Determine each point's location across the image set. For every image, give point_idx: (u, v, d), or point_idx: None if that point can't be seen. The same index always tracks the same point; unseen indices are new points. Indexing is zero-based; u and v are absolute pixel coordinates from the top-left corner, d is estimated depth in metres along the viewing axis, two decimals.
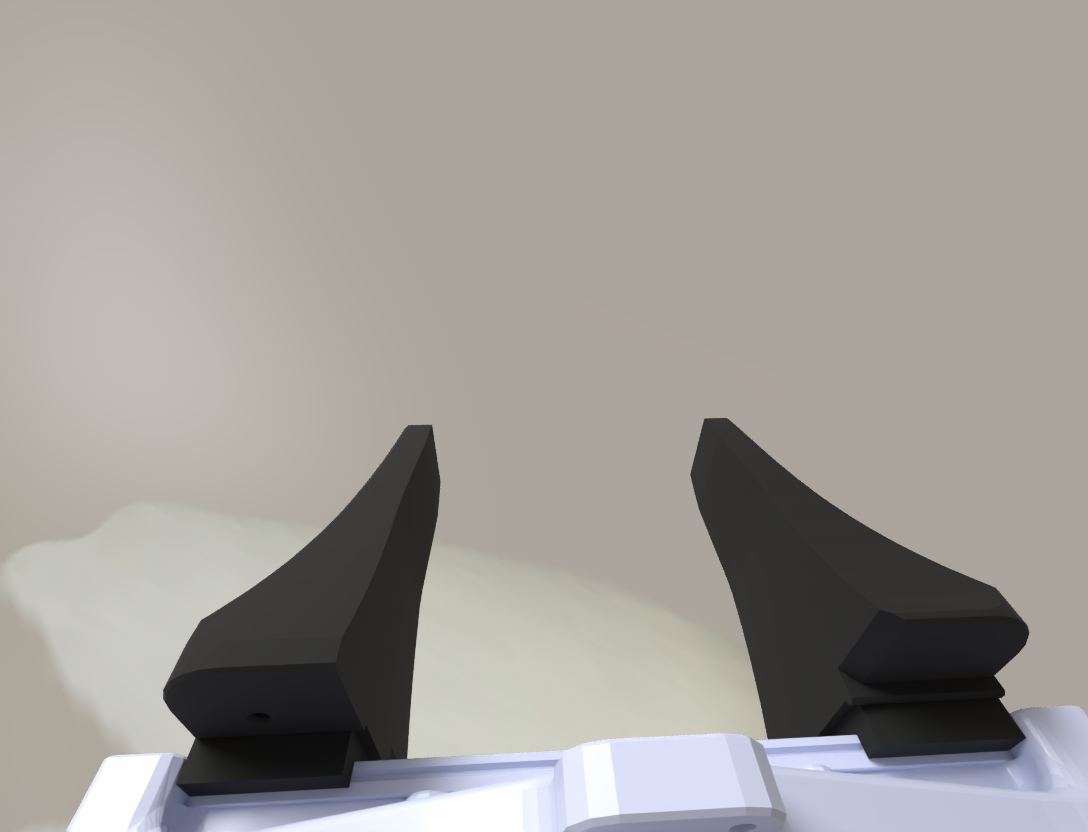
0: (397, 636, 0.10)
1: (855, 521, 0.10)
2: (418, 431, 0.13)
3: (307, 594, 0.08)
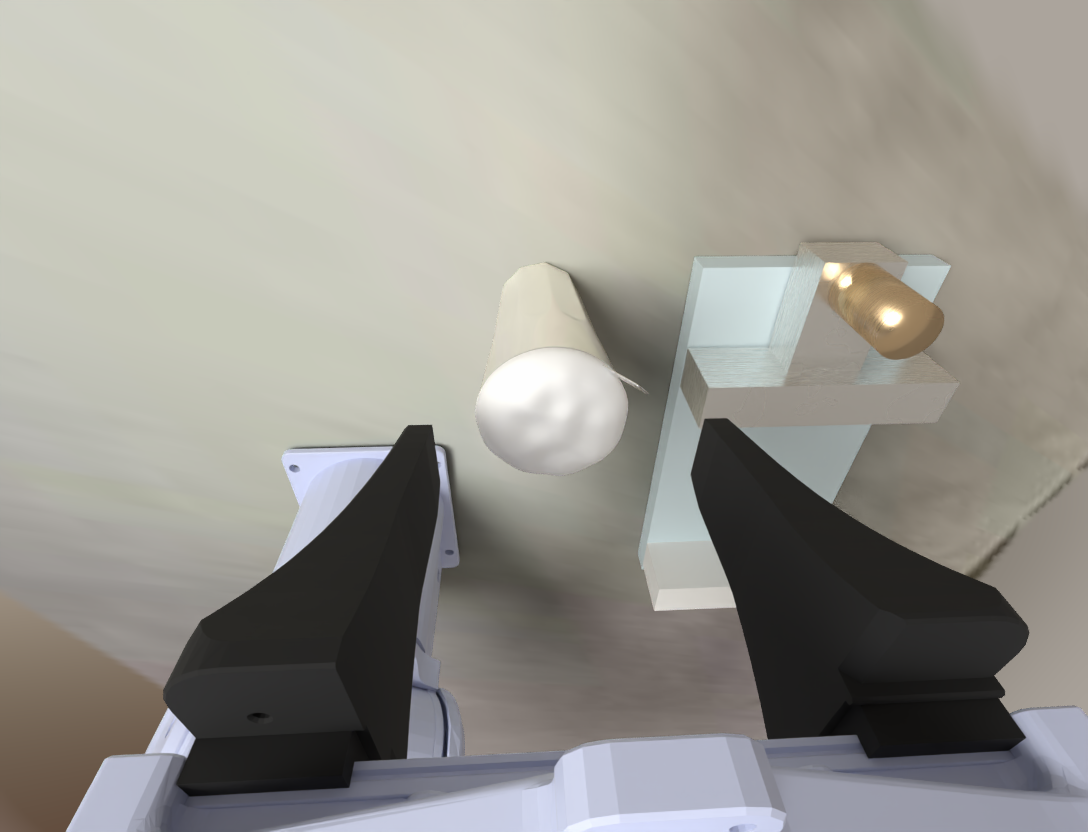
0: (397, 636, 0.10)
1: (855, 521, 0.10)
2: (418, 431, 0.13)
3: (307, 593, 0.08)
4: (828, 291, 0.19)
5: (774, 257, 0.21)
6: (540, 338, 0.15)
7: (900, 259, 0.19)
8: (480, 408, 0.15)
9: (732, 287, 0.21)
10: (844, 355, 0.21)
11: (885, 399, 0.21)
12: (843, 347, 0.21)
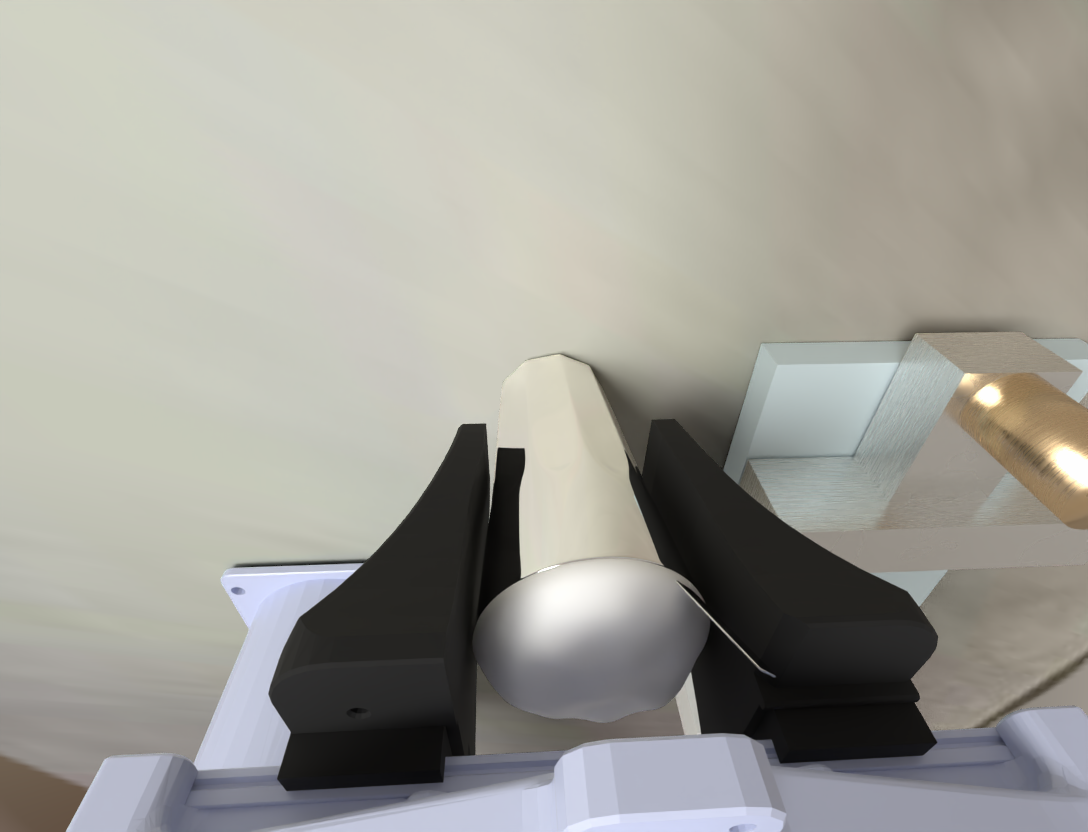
0: (469, 633, 0.10)
1: (783, 523, 0.10)
2: (473, 429, 0.13)
3: (398, 590, 0.08)
4: (963, 408, 0.13)
5: (869, 344, 0.16)
6: (574, 533, 0.10)
7: (1069, 366, 0.13)
8: (481, 649, 0.09)
9: (814, 387, 0.15)
10: (969, 482, 0.15)
11: (1024, 540, 0.15)
12: (969, 473, 0.15)
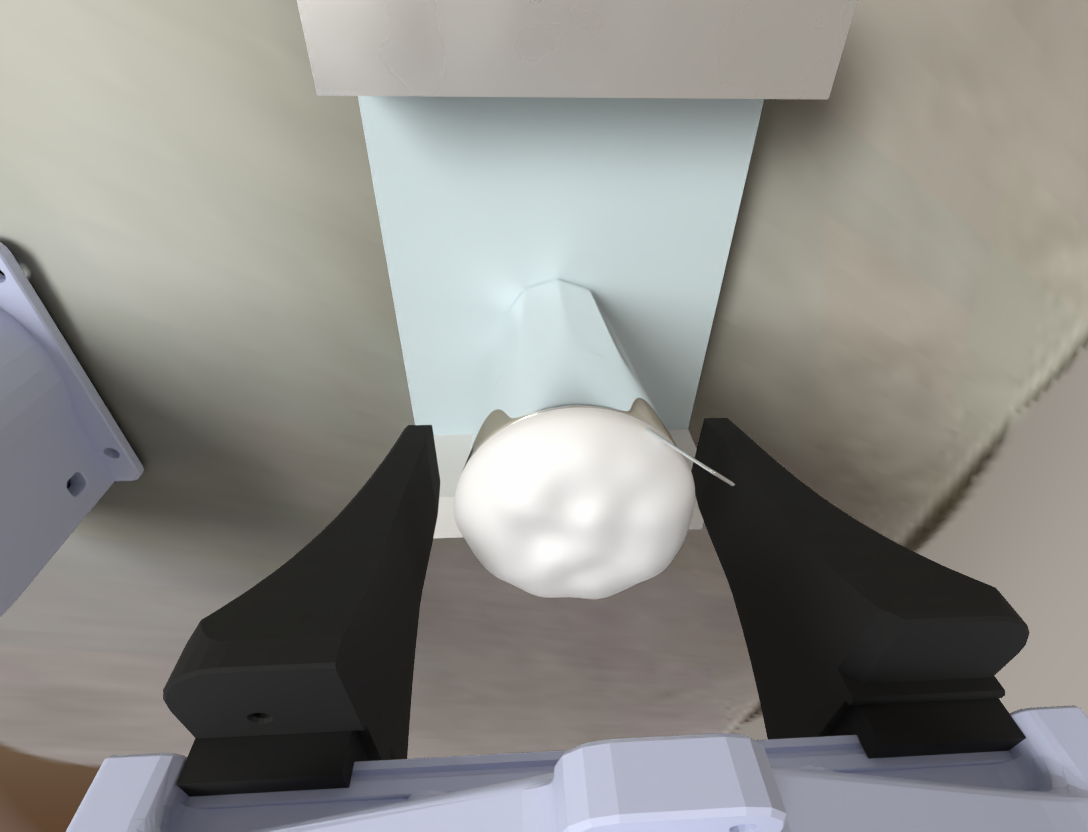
0: (397, 636, 0.10)
1: (855, 521, 0.10)
2: (417, 431, 0.13)
3: (307, 594, 0.08)
4: None
5: None
6: (543, 394, 0.10)
7: None
8: (459, 512, 0.10)
9: None
10: None
11: (707, 16, 0.10)
12: None
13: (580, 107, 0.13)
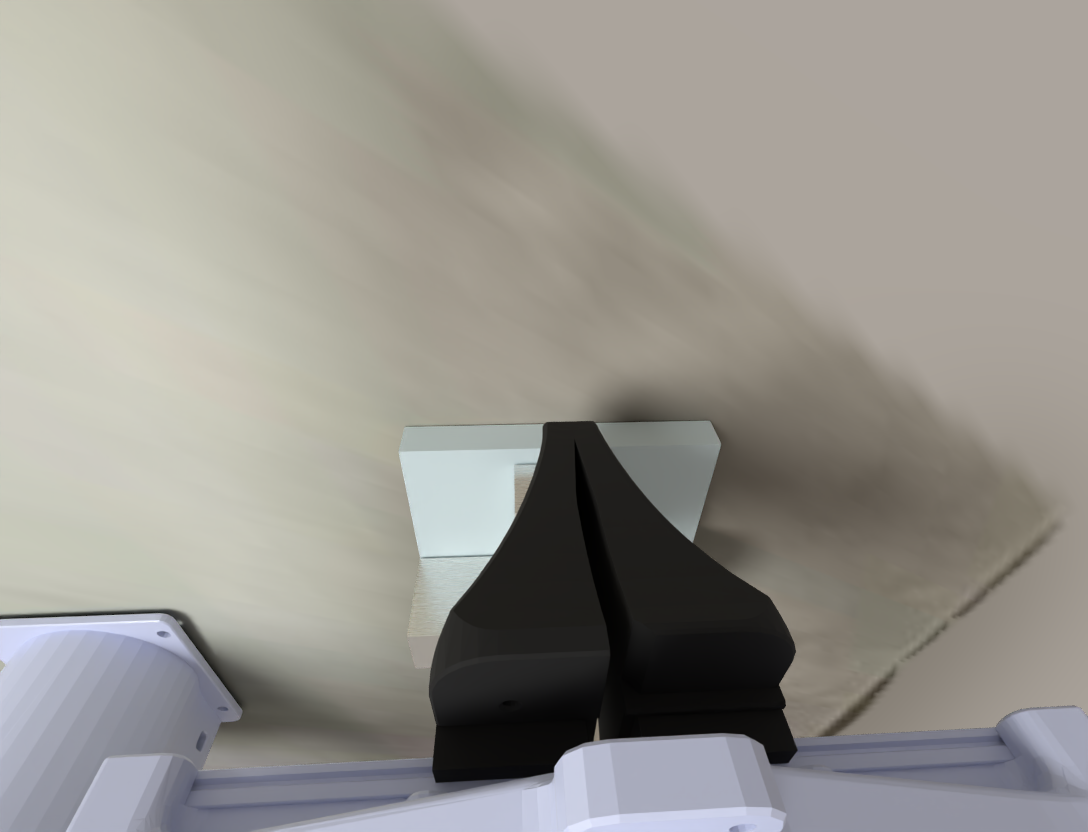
0: None
1: (671, 527, 0.10)
2: (560, 427, 0.13)
3: (537, 585, 0.08)
4: None
5: (505, 428, 0.17)
6: None
7: None
8: None
9: (445, 470, 0.17)
10: None
11: None
12: None
13: None
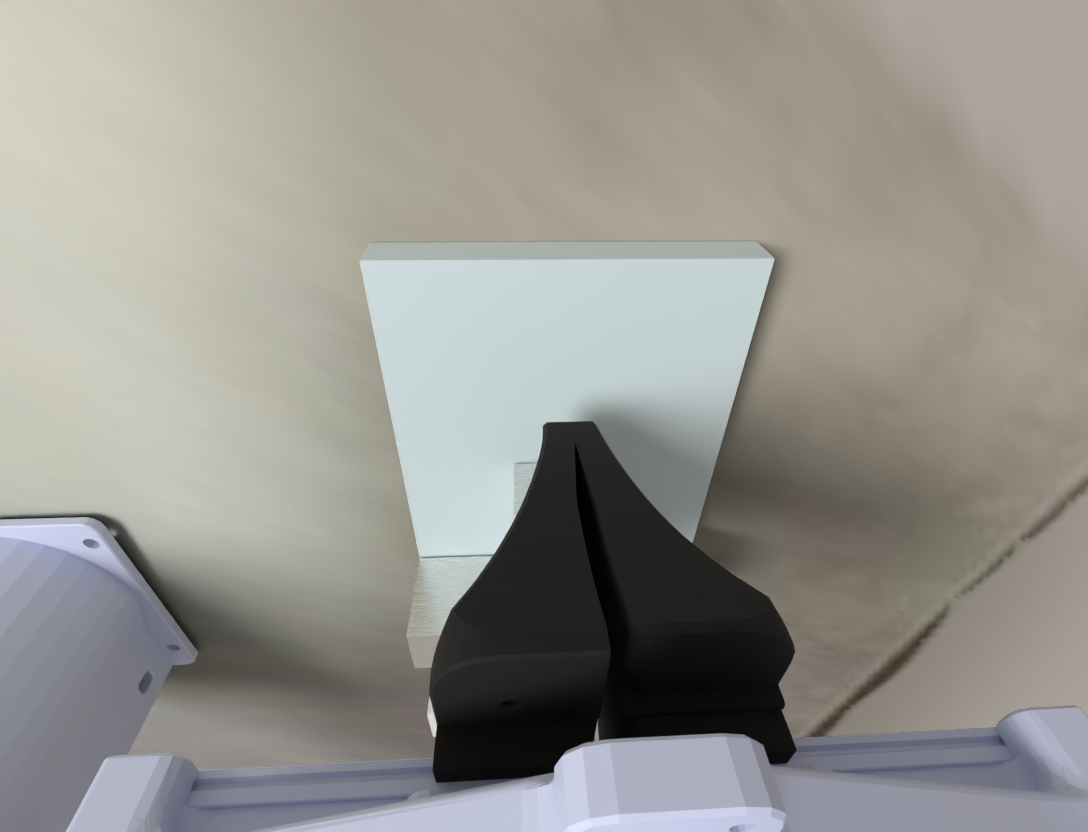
0: None
1: (670, 527, 0.10)
2: (560, 428, 0.13)
3: (538, 585, 0.08)
4: None
5: (498, 244, 0.13)
6: None
7: None
8: None
9: (421, 292, 0.13)
10: None
11: None
12: None
13: None
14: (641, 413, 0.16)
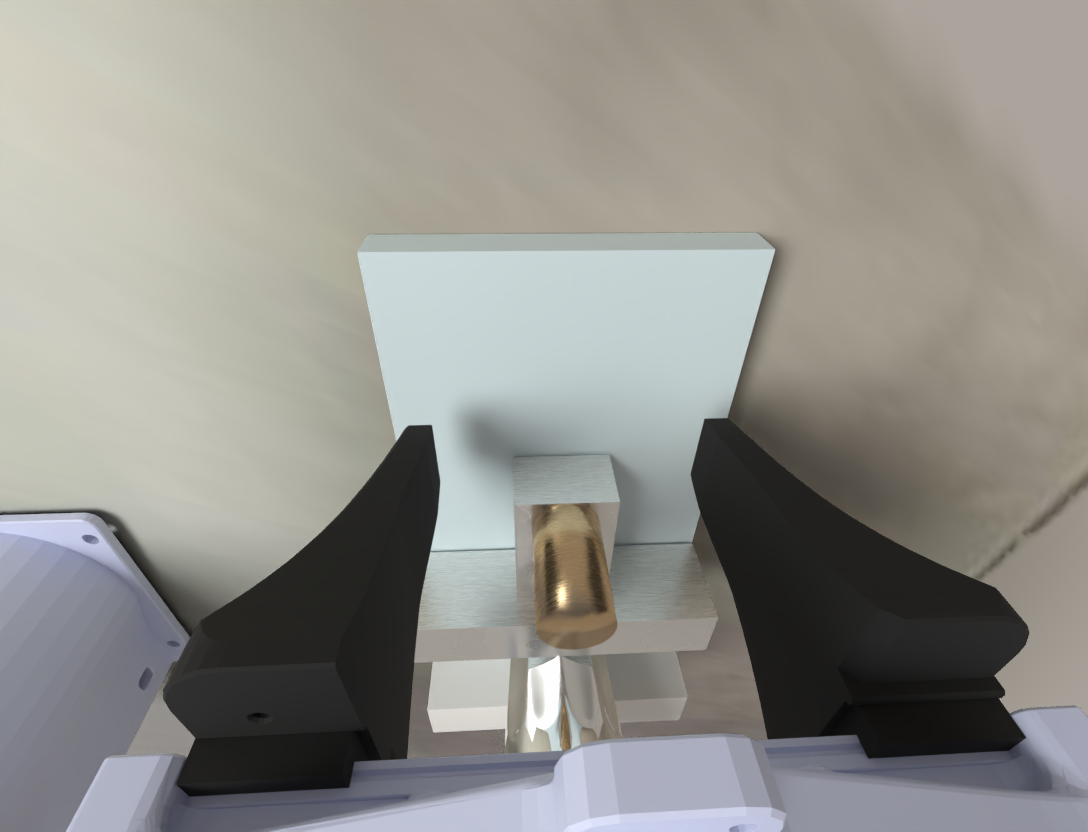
0: (397, 636, 0.10)
1: (855, 521, 0.10)
2: (418, 431, 0.13)
3: (307, 594, 0.08)
4: (532, 529, 0.16)
5: (497, 236, 0.13)
6: None
7: (613, 495, 0.15)
8: None
9: (419, 284, 0.13)
10: None
11: (632, 633, 0.17)
12: None
13: (574, 444, 0.16)
14: (641, 406, 0.16)
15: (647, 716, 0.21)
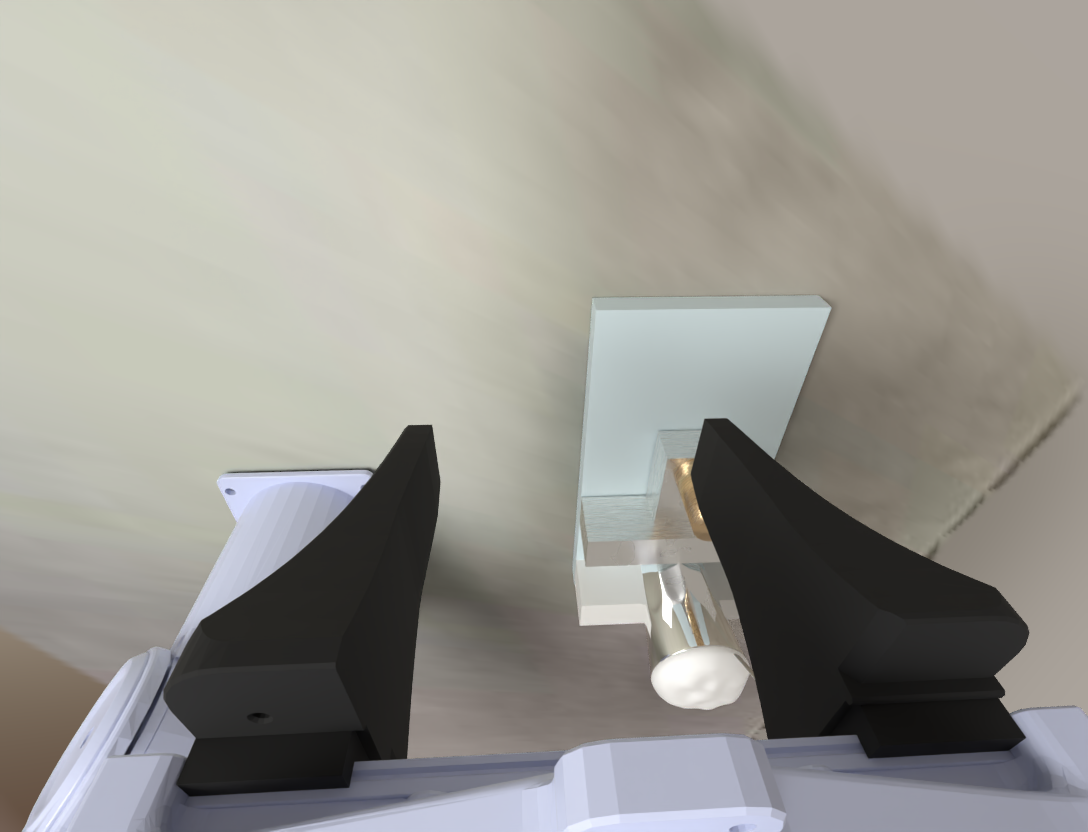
0: (397, 636, 0.10)
1: (855, 521, 0.10)
2: (418, 431, 0.13)
3: (307, 594, 0.08)
4: (674, 475, 0.25)
5: (667, 298, 0.23)
6: (690, 634, 0.24)
7: None
8: (657, 681, 0.24)
9: (626, 327, 0.22)
10: None
11: None
12: None
13: (697, 423, 0.26)
14: (742, 399, 0.25)
15: (727, 615, 0.31)
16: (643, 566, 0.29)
